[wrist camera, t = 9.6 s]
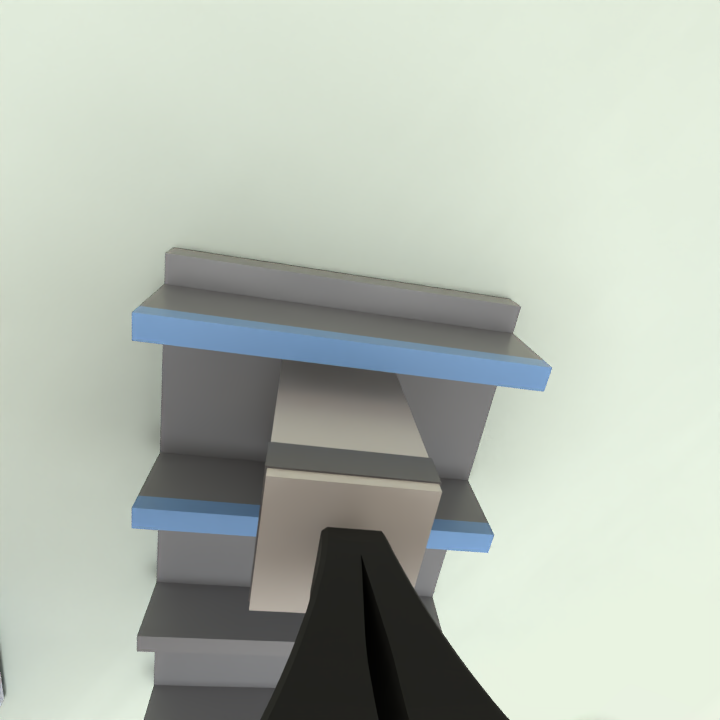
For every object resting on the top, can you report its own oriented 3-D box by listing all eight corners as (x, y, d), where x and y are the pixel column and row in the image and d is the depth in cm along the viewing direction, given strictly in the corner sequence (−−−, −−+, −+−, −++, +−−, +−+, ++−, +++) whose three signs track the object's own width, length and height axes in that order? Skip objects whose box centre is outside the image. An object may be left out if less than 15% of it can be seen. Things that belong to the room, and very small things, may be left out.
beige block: (269, 453, 18) (246, 611, 12) (281, 353, 17) (263, 473, 11) (374, 463, 19) (407, 619, 13) (396, 368, 18) (444, 490, 11)
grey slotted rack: (159, 689, 24) (131, 787, 20) (173, 247, 16) (132, 275, 12) (393, 694, 26) (407, 785, 22) (510, 299, 18) (562, 336, 14)
